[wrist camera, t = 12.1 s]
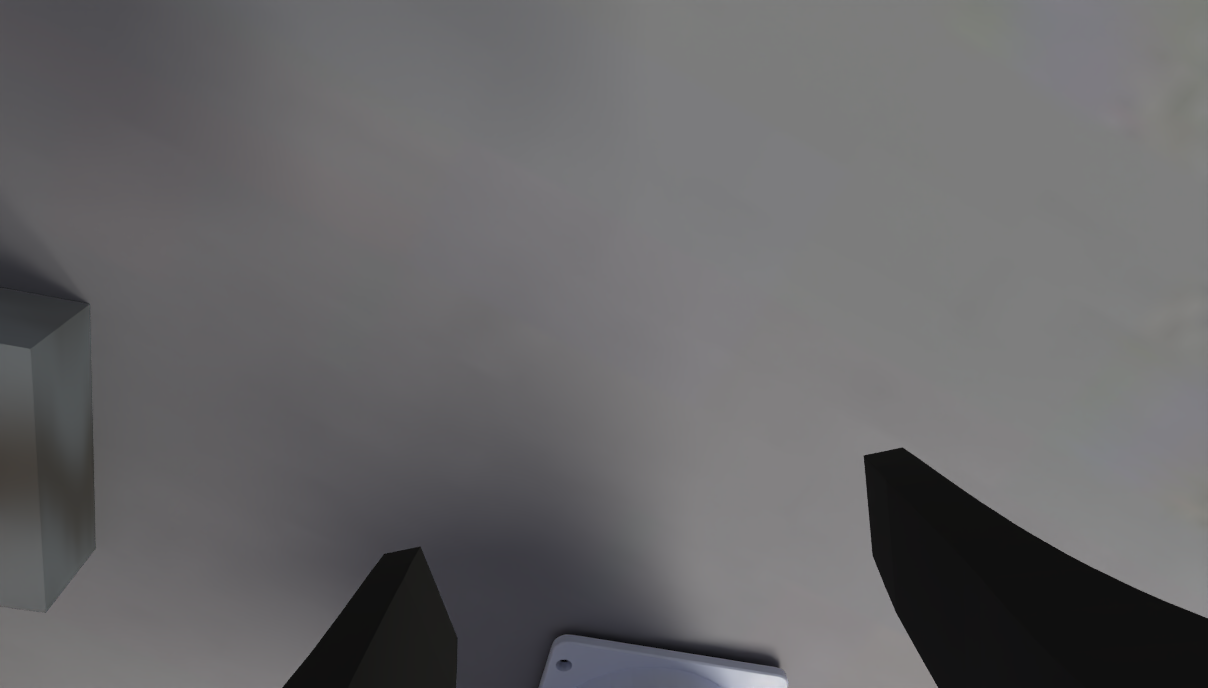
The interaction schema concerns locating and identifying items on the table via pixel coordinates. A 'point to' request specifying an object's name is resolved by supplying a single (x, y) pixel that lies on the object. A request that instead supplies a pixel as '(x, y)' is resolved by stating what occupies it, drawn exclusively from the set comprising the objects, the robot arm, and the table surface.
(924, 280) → the table surface
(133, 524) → the table surface
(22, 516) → the slate slab
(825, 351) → the table surface
